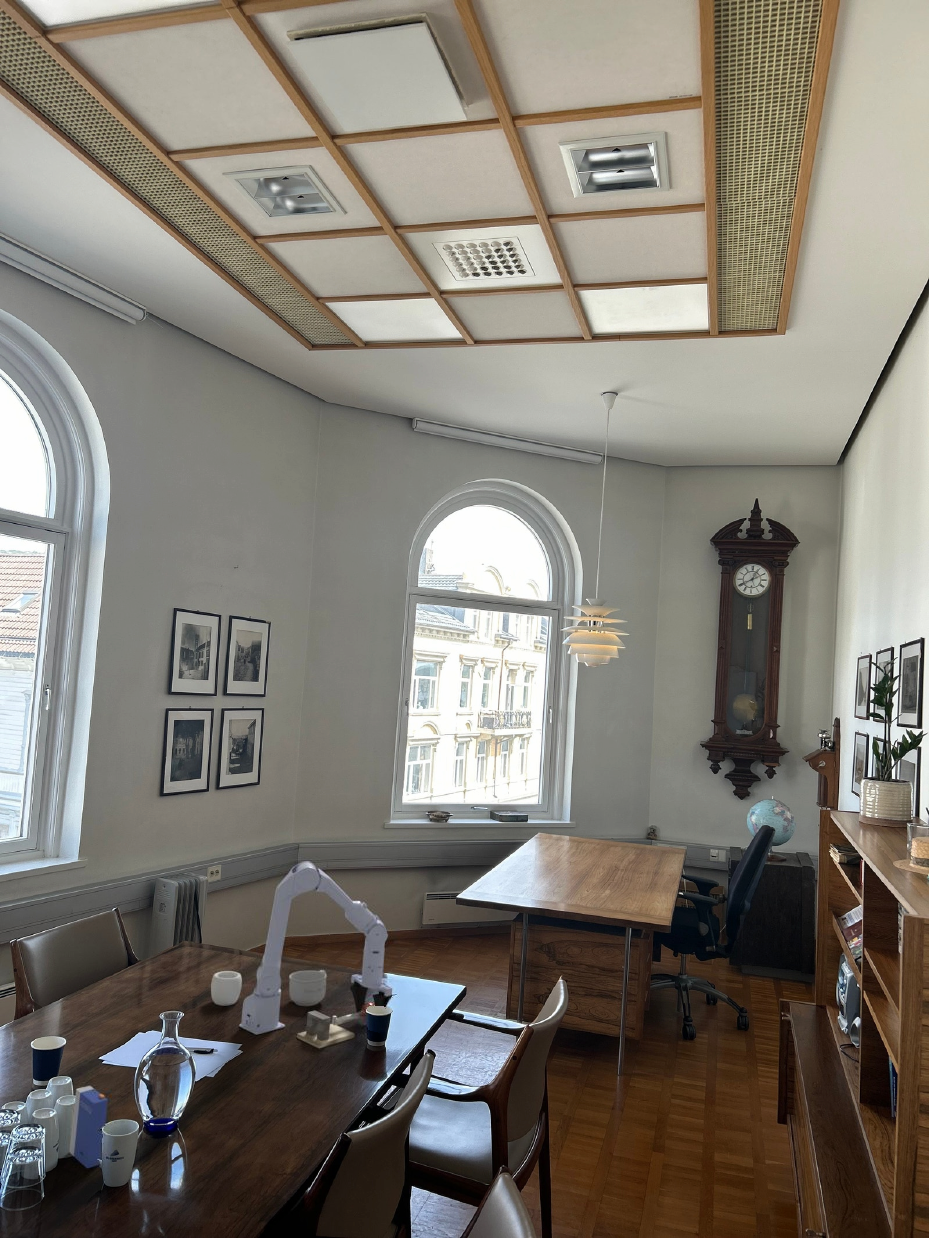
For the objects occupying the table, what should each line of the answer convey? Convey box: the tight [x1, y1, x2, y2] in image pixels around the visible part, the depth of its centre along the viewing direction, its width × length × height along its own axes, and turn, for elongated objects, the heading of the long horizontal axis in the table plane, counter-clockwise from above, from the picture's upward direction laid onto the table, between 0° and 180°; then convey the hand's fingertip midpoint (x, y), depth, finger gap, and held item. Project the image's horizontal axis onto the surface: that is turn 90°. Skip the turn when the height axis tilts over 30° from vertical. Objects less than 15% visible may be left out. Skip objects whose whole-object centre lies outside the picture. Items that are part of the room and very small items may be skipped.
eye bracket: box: [296, 1010, 355, 1049], centre depth 237 cm, size 12×9×6 cm
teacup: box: [288, 969, 327, 1007], centre depth 263 cm, size 14×11×8 cm
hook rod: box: [331, 1002, 375, 1026], centre depth 244 cm, size 14×5×5 cm, turn 139°
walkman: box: [68, 1085, 109, 1169], centre depth 170 cm, size 8×3×12 cm, turn 47°
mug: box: [210, 970, 243, 1007], centre depth 259 cm, size 12×8×8 cm
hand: (369, 1015), depth 248 cm, fingers open, 7 cm apart
